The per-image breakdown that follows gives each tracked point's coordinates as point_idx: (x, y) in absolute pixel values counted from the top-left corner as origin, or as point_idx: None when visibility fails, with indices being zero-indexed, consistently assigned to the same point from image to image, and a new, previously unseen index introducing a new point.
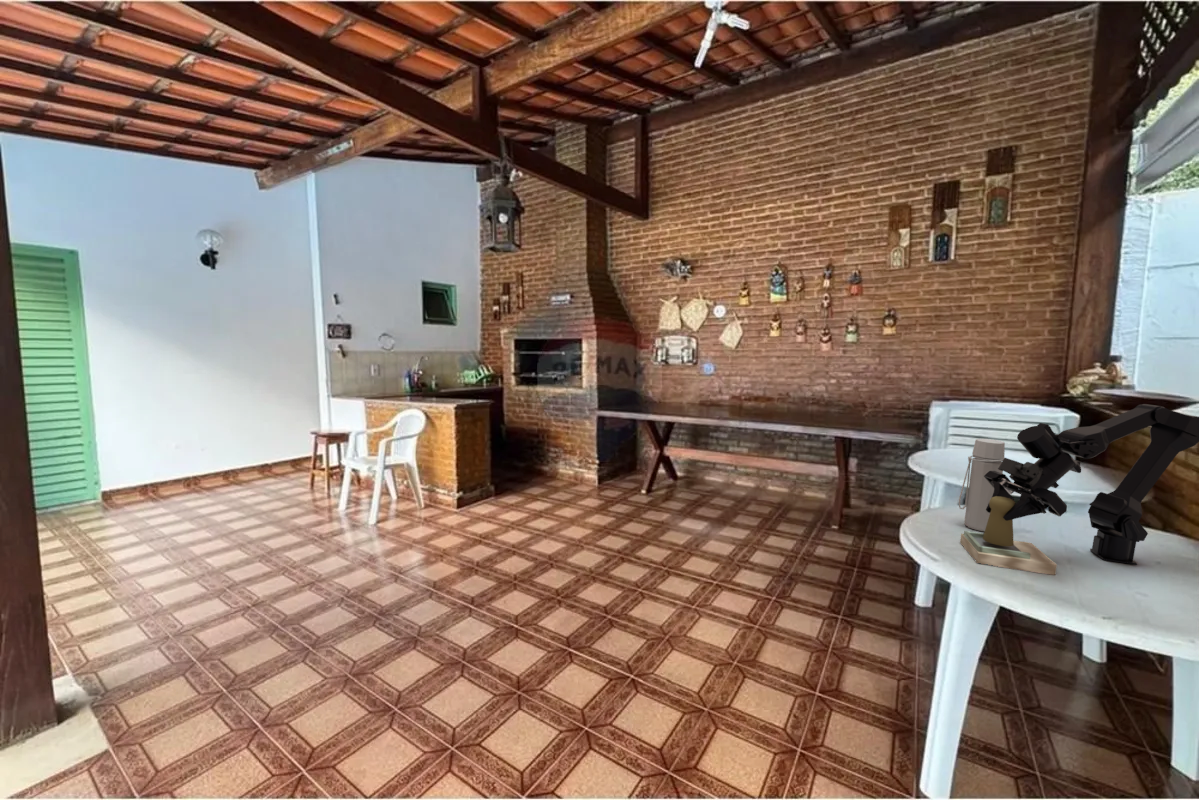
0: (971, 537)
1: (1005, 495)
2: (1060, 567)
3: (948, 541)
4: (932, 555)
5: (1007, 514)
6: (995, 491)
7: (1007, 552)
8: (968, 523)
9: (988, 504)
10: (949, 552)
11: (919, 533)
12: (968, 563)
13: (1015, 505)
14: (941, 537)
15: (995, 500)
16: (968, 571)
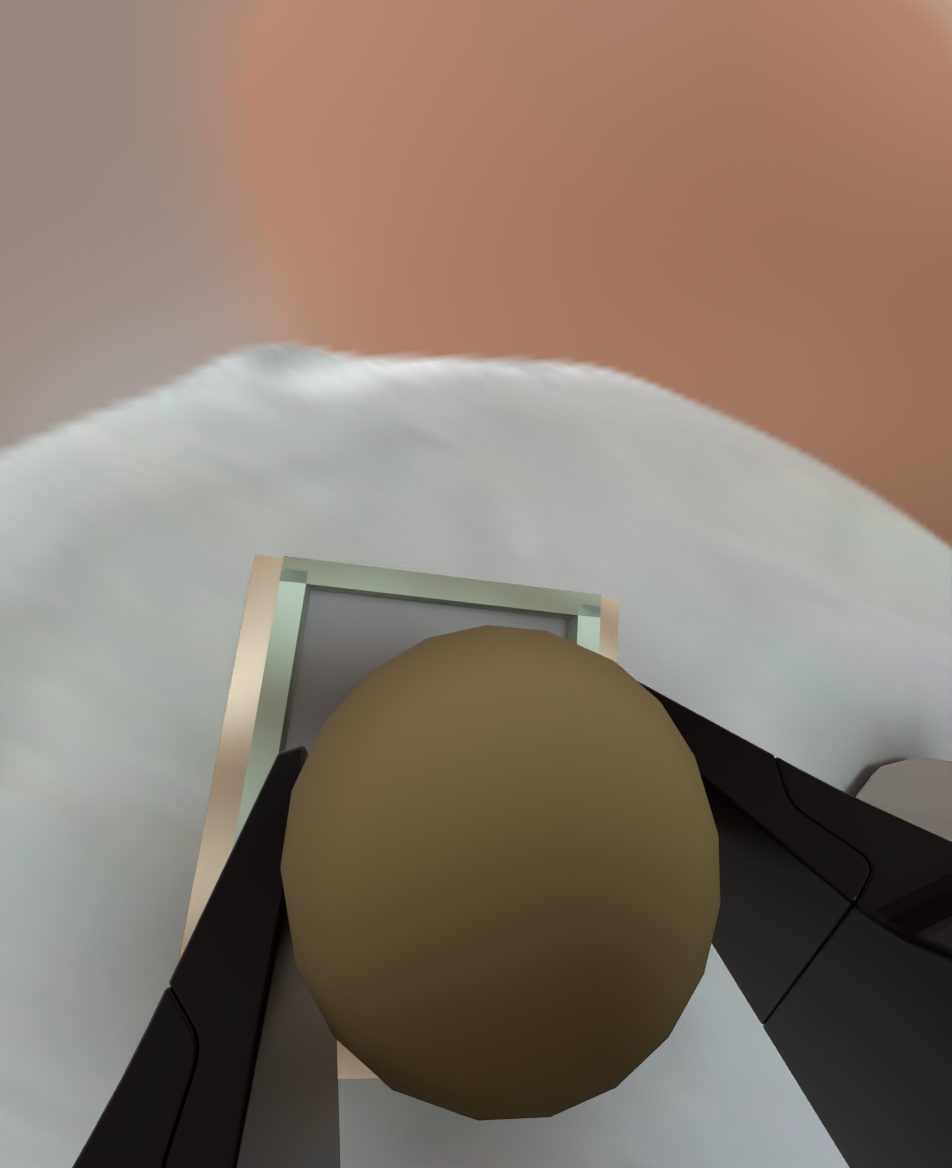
0: (473, 588)
1: (884, 1064)
2: (353, 1137)
3: (589, 548)
4: (332, 370)
5: (259, 799)
6: (948, 870)
7: (252, 744)
8: (899, 768)
9: (652, 693)
10: (408, 482)
11: (658, 435)
12: (261, 520)
13: (233, 1020)
14: (640, 534)
15: (439, 667)
16: (132, 467)
